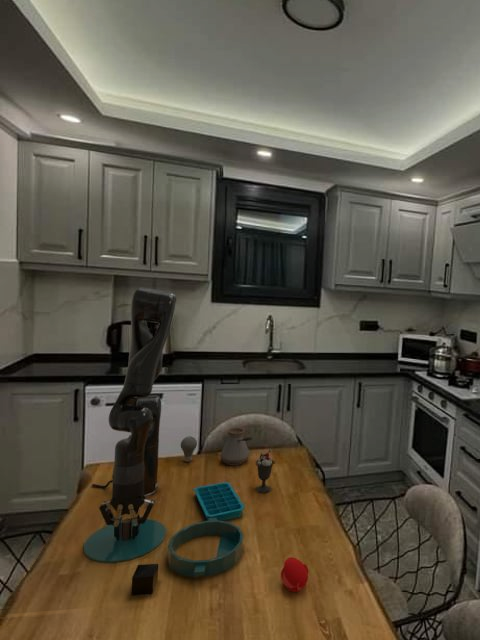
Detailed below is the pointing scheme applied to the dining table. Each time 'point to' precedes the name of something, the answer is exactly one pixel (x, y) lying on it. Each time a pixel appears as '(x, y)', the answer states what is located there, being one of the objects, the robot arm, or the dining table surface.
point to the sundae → (264, 471)
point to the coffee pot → (235, 447)
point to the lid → (124, 542)
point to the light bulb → (188, 447)
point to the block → (144, 579)
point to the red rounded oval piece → (294, 574)
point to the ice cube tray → (219, 501)
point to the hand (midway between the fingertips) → (126, 537)
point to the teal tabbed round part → (226, 551)
